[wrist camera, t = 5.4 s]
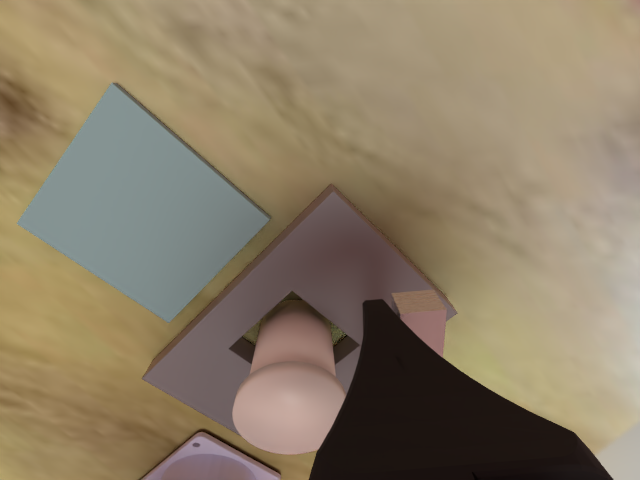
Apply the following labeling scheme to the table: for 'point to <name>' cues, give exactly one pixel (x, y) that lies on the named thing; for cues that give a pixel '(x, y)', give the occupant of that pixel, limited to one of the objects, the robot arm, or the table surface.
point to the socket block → (274, 285)
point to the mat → (141, 208)
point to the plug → (290, 382)
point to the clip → (422, 316)
